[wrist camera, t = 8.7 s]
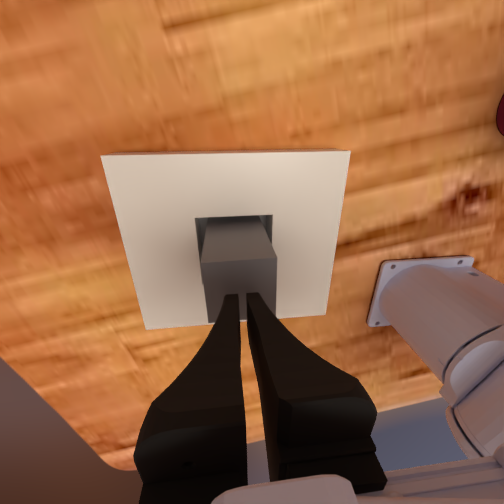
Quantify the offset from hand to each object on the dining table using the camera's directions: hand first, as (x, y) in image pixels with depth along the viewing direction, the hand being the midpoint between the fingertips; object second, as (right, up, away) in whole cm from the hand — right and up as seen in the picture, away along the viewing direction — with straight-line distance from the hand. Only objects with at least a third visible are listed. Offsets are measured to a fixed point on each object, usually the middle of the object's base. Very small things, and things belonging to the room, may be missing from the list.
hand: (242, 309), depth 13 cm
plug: (-1, +4, +8) cm, 9 cm away
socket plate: (-1, +4, +8) cm, 9 cm away
